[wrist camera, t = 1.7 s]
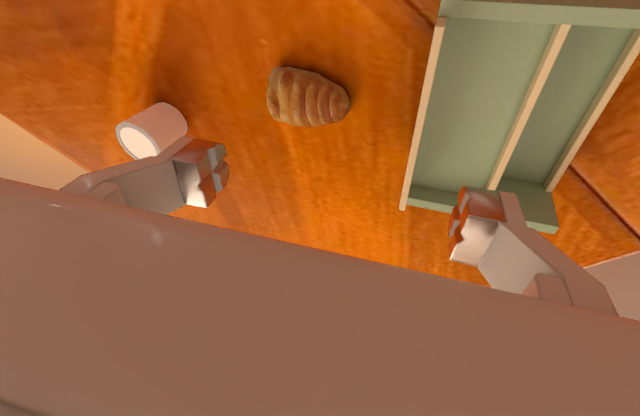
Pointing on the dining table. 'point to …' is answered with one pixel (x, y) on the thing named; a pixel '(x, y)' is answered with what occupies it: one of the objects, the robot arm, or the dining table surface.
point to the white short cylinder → (151, 130)
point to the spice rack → (515, 97)
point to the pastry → (305, 98)
